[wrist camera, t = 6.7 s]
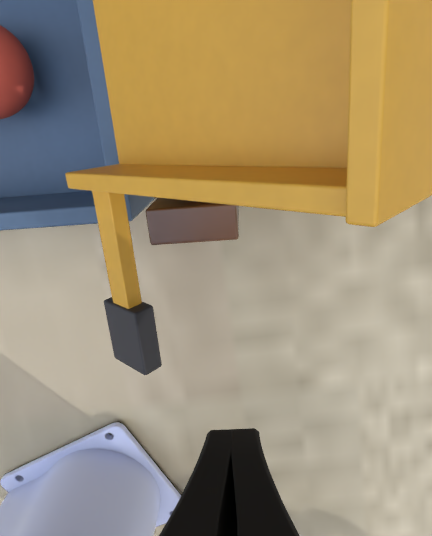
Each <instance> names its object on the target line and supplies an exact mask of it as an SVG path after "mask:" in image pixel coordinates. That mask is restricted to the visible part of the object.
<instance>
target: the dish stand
mask: <svg viewBox="0 0 432 536" xmlns="http://www.w3.org/2000/svg"><path fill="white" fill-rule="evenodd" d="M146 217H147V224H148V231H149V238H150V243H151V244H152V245H161V244H176V243H190V242H205V241H220V240H235V239H238V237H239V206H236V205H226V204H217V203H207V202H197V201H187V200H177V199H167V198H157V199H156V200H155V201H154V202H153V203H152V204H151V205H150V206H149V207H148V208H147V210H146Z"/></svg>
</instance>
